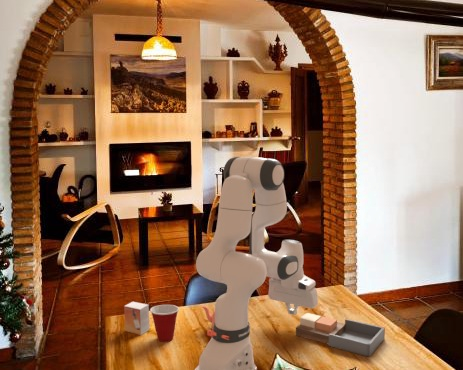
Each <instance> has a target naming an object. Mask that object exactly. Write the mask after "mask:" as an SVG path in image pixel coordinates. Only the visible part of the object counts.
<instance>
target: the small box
mask: <svg viewBox="0 0 463 370" xmlns="http://www.w3.org/2000/svg"><path fill="white" fill-rule="evenodd" d="M123 308H124V309H123V310H124V311H123V312H124V313H123V314H124V315H123V316H124V331H125V332H126V333H127V332H128V333H131V334H136V335H140V336H142V335H143V334H145V333H147V332H148V331H149V330H150V329H151V328H150V304H147V303H141V302H137V301H131V302H128V303H127V304H125V305H123Z"/></svg>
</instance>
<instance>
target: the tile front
mask: <svg viewBox="0 0 463 370" xmlns="http://www.w3.org/2000/svg"><path fill="white" fill-rule="evenodd" d="M337 322H338V319H334V318H330V317H326V316H322V315H321V318H320V319H319V320H318V321H316V329H320V330H324V331H328V332H331V331H332V330H333V329H335V328H336V327H337Z"/></svg>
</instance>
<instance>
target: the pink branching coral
mask: <svg viewBox="0 0 463 370" xmlns="http://www.w3.org/2000/svg"><path fill="white" fill-rule="evenodd" d="M200 308H202V309H204V311H205V314H206V319H207V321H208V322H210V323H211V330H212V331H213V327H214V323H215V308H214V310H213V313H212V314H211V312H210V310H209V307H208V306H206V305H200Z"/></svg>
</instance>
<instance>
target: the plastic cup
mask: <svg viewBox="0 0 463 370" xmlns="http://www.w3.org/2000/svg"><path fill="white" fill-rule="evenodd" d="M179 310H180V307H179V306H177V305H174V304H160V305H154V306H152V307H150V308H149V313H151V315H152V319H153V324H154V325H153V326H154V329H155V332H156V336H157V337H156V338H157V340H158V341H160V342H162V343H167V342H171V341H172V340H174V336H175V330H176V321H177V317H178V316H177V315H178V312H179Z"/></svg>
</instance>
